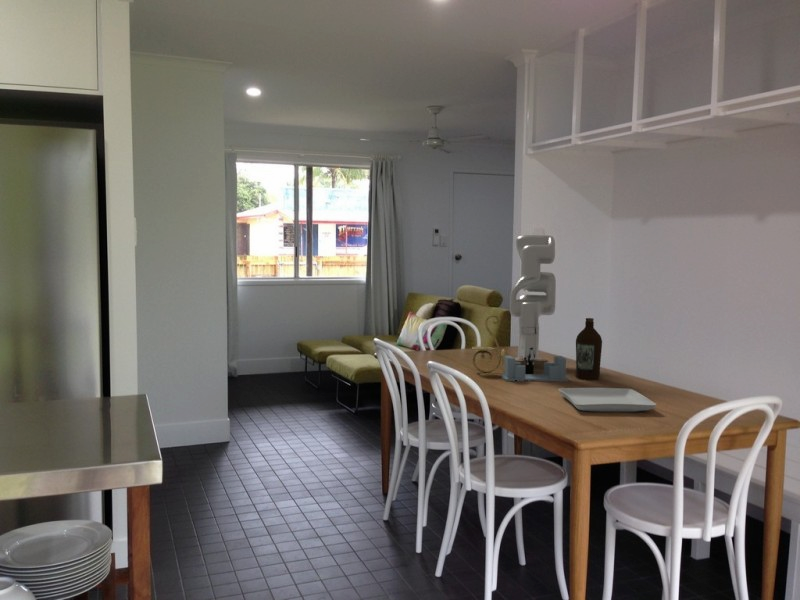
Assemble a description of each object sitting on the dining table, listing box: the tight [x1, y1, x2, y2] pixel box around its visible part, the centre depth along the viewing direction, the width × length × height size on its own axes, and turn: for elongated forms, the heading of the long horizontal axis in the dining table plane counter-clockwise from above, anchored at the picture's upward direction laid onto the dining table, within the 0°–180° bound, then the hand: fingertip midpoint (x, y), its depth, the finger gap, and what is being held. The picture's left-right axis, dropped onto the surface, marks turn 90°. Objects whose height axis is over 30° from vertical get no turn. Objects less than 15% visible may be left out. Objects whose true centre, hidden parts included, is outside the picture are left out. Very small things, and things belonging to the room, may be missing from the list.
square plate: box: [557, 387, 658, 413], centre depth 246 cm, size 27×27×4 cm
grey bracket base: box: [500, 355, 570, 382], centre depth 292 cm, size 10×26×9 cm, turn 93°
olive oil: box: [575, 317, 603, 381], centre depth 295 cm, size 11×11×25 cm
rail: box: [515, 358, 549, 374], centre depth 303 cm, size 4×16×6 cm, turn 102°
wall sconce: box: [471, 314, 506, 373], centre depth 304 cm, size 14×10×25 cm
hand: (528, 372), depth 303 cm, fingers closed on rail, 4 cm apart
